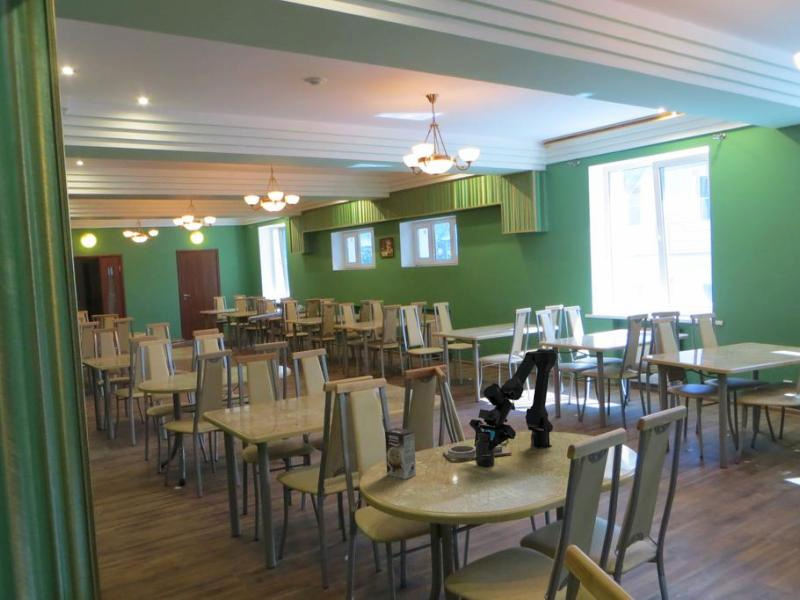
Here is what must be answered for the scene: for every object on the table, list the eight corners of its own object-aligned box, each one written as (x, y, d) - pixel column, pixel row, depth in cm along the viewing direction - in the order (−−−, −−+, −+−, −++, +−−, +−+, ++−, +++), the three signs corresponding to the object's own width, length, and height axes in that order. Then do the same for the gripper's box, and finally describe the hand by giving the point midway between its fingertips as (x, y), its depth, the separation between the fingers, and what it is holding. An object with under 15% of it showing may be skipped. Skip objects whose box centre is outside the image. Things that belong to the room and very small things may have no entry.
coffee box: (386, 475, 239) (383, 431, 239) (398, 470, 244) (396, 427, 243) (404, 479, 233) (402, 434, 232) (416, 474, 238) (414, 430, 237)
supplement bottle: (486, 468, 241) (484, 436, 240) (472, 465, 246) (471, 433, 245) (498, 464, 245) (497, 432, 245) (484, 461, 250) (483, 429, 250)
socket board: (499, 447, 268) (499, 440, 268) (511, 454, 257) (511, 447, 257) (443, 454, 262) (442, 446, 262) (453, 462, 251) (452, 454, 251)
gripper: (471, 397, 254) (452, 432, 247) (509, 403, 240) (490, 439, 233) (485, 414, 260) (467, 448, 253) (523, 420, 246) (506, 456, 239)
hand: (482, 448), depth 244 cm, fingers closed on supplement bottle, 7 cm apart
